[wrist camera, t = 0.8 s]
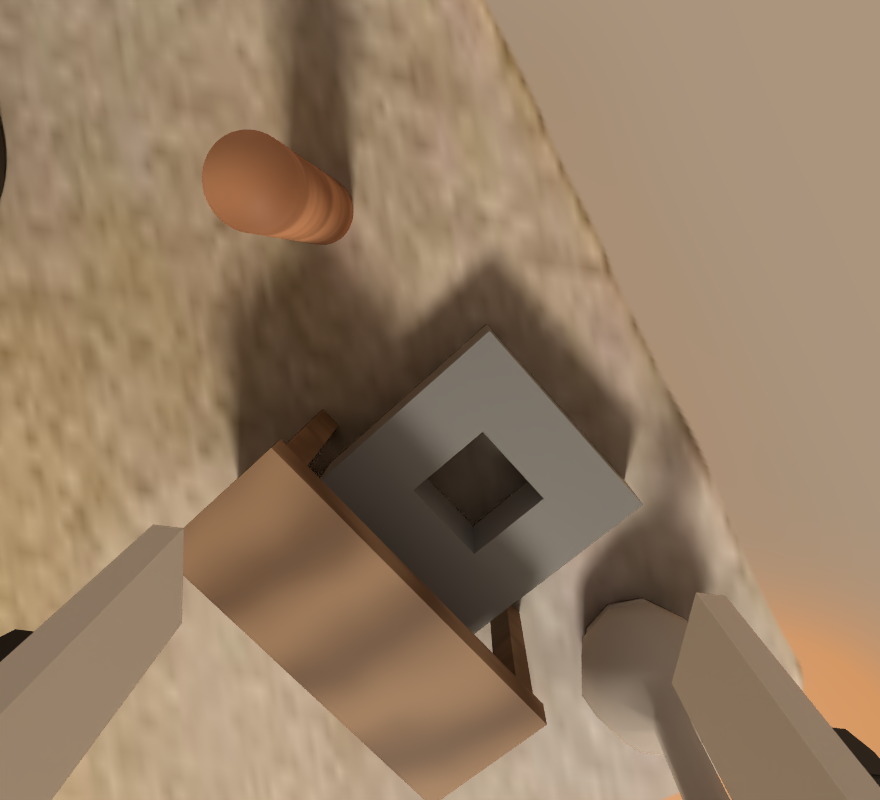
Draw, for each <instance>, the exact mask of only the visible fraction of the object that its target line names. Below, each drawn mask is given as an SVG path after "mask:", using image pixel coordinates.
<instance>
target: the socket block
mask: <svg viewBox="0 0 880 800" xmlns="http://www.w3.org/2000/svg"><path fill="white" fill-rule="evenodd" d="M482 432H483V433H484V434H485V435H486V436H487V437H488V438H489V439H490V440H491V441H492V443H493V444H494V445H495V446H496V447H497V448H498V449H499V450H500V451H501V452H502V453H503V455H504V456H505V457H506V458H507V459H508V460H509V461H510V462H511V463H512V464H513V465H514V467H515V468H516V469H517V470H518V471H519V472H520V473H521V474H522V475H523V476H524V477H525V479H526V480H527V481H528V482H527V483H525V484H524V485H523V486H522V487H520V488H519V489H518V490H517V491H515V492H514V493H513V494H512V495H510V496H509V497H508V498H507V499H506V500H504V501H503V502H502V503H501V504H499V505H498V506H497V507H496V508H494V509H493V510H492V511H491V512H489V513H488V514H487V515H486V516H485V517H483V518H482V519H481V520H480V521H478V522H477V523H476V524H475V525H472V524H471V523H470V522H469V521H468V520H467V519H466V518H465V517H464V516H463V515H462V514H461V513H460V512H459V511H458V510H457V509H456V508H455V507H454V505H453V504H452V503H451V502H450V501H449V500H448V499H447V498H446V497H445V496H444V495H443V494H442V493H441V492H440V491H439V490H438V489H437V488H436V487H435V486H434V484H433V483H432V482H431V481H430V480H429V479H428V478H429V477H430V476H431V475H432V474H433V473H434V472H436V471H437V470H438V469H439V468H440V467H442V466H443V465H444V464H445V463H446V462H447V461H449V460H450V459H451V458H452V457H453V456H455V455H456V454H457V453H458V452H459V451H460V450H462V449H463V448H464V447H465V446H466V445H468V444H469V443H470V442H471V441H472V440H473V439H475V438H476V437H477V436H478V435H479V434H481V433H482ZM320 479H321V480H322V481H323V482H324V483H325V484H326V485H327V486H328V487H329V488H330V489H331V490H332V491H333V492H334V493H335V494H336V495H337V496H338V497H339V498H340V499H341V500H342V501H343V502H344V503H345V505H346V506H347V507H348V508H349V509H350V510H351V511H352V512H353V513H354V514H355V515H356V516H357V517H358V518H359V519H360V520H361V521H362V522H363V523H364V524H365V525H366V526H367V527H368V528H369V529H370V530H371V531H372V532H373V533H374V534H375V535H376V536H377V537H378V538H379V539H380V540H381V541H382V542H383V543H384V544H385V545H386V546H387V547H388V548H389V549H390V550H391V551H392V552H393V553H394V554H395V555H396V556H397V557H398V558H399V559H400V560H401V561H402V562H403V563H404V564H405V565H406V566H407V567H408V568H409V569H410V570H411V571H412V572H413V573H414V574H415V575H416V576H417V577H418V578H419V579H420V580H421V581H422V582H423V583H424V584H425V585H426V586H427V587H428V588H429V589H430V590H431V591H432V592H433V593H434V594H435V595H436V596H437V597H438V598H439V600H440V601H441V602H442V603H443V604H444V605H445V606H446V607H447V608H448V609H449V610H450V611H451V612H452V613H453V614H454V615H455V616H456V617H457V618H458V619H459V620H460V621H461V622H462V623H463V624H464V625H465V626H466V627H467V628H468V629H469V630H470V631H471V632H472V633H473V634H475V633H476V632H477V631H478V630H480V629H481V628H482V627H484V626H485V625H486V624H488V623H489V622H490V621H492V620H493V619H494V618H495V617H497V616H498V615H499V614H501V613H502V612H503V611H505V610H506V609H507V608H509V607H510V606H511V605H512V604H514V603H515V602H516V601H518V600H519V599H520V598H522V597H523V596H524V595H526V594H527V593H528V592H529V591H531V590H532V589H533V588H535V587H536V586H537V585H539V584H540V583H541V582H543V581H544V580H545V579H546V578H548V577H549V576H550V575H552V574H553V573H554V572H556V571H557V570H558V569H560V568H561V567H562V566H563V565H565V564H566V563H567V562H569V561H570V560H571V559H573V558H574V557H575V556H577V555H578V554H579V553H580V552H582V551H583V550H584V549H586V548H587V547H588V546H590V545H591V544H592V543H594V542H595V541H596V540H597V539H599V538H600V537H601V536H603V535H604V534H605V533H607V532H608V531H609V530H610V529H612V528H613V527H614V526H616V525H617V524H618V523H620V522H621V521H622V520H624V519H625V518H626V517H627V516H629V515H630V514H631V513H633V512H634V511H635V510H637V509H638V508H639V507H641V506H642V505H643V504H642V503H641V501H640V500H639V499H638V497H637V496H636V495H635V493H634V492H633V491H632V490H631V488H630V487H629V486H628V484H627V483H626V482H625V480H624V479H623V478H622V477H621V476H620V475H619V474H618V472H617V471H616V470H615V469H614V468H613V467H612V466H611V465H610V463H609V462H608V461H607V460H606V459H605V458H604V457H603V455H602V454H601V453H600V452H599V451H598V450H597V449H596V448H595V446H594V445H593V444H592V443H591V442H590V441H589V440H588V438H587V437H586V436H585V435H584V434H583V433H582V432H581V431H580V429H579V428H578V427H577V426H576V425H575V424H574V423H573V421H572V420H571V419H570V418H569V417H568V416H567V415H566V414H565V412H564V411H563V410H562V409H561V408H560V407H559V406H558V404H557V403H556V402H555V401H554V400H553V399H552V398H551V397H550V395H549V394H548V393H547V392H546V391H545V390H544V389H543V387H542V386H541V385H540V384H539V383H538V382H537V381H536V380H535V378H534V377H533V376H532V375H531V374H530V373H529V372H528V370H527V369H526V368H525V367H524V366H523V365H522V364H521V363H520V361H519V360H518V359H517V358H516V357H515V356H514V355H513V353H512V352H511V351H510V350H509V349H508V348H507V347H506V346H505V344H504V343H503V342H502V341H501V340H500V339H499V338H498V336H497V335H496V334H495V333H494V332H493V331H492V330H491V329H490V327H489V326H488V325H487V324H486V325H485V326H484V327H483V328H482V329H481V330H479V331H478V332H477V333H476V334H475V335H474V336H473V337H472V338H470V339H469V340H468V341H467V342H466V343H465V344H464V345H463V346H461V347H460V348H459V349H458V350H457V351H456V352H455V353H454V354H452V355H451V356H450V357H449V358H448V359H447V360H446V361H445V362H443V363H442V364H441V365H440V366H439V367H438V368H437V369H436V370H434V371H433V372H432V373H431V374H430V375H429V376H428V377H427V378H425V379H424V380H423V381H422V382H421V383H420V384H419V385H418V386H416V387H415V388H414V389H413V390H412V391H411V392H410V393H409V394H407V395H406V396H405V397H404V398H403V399H402V400H401V401H400V402H398V403H397V404H396V405H395V406H394V407H393V408H392V409H391V410H389V411H388V412H387V413H386V414H385V415H384V416H383V417H382V418H380V419H379V420H378V421H377V422H376V423H375V424H374V425H373V426H371V427H370V428H369V429H368V430H367V431H366V432H365V433H364V434H362V435H361V436H360V437H359V438H358V439H357V440H356V441H355V442H353V443H352V444H351V445H350V446H349V447H348V448H347V449H346V450H344V451H343V452H342V453H341V454H340V455H339V456H338V457H337V458H335V459H334V460H333V461H332V462H331V463H330V464H329V466H328V467H327V469H326V470H325V472H324V473H323V475H322V476H321V478H320Z"/></svg>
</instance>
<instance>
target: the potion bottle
mask: <svg viewBox="0 0 880 800" xmlns="http://www.w3.org/2000/svg"><path fill="white" fill-rule="evenodd" d="M687 624H688V621H687V620H686V619H684V618H682V617H680V616H678V615H676V614H674V613H672V612H671V611H669V610H667V609H664V608H662V607H660V606H658V605H656V604H654V603H652V602H650V601H647V600H645V599H643V598H637V599H632V600H627V601H622V602H617V603H612V604H608V605H607V606H606V607H605V608H604V609H603V610H602V611H601V612H600V613H599V614H598V615H597V617H596V618H595V619H594V620H593V621H592V622H591V623H590V624H589V625H588V626H587V628H586V634H585V636H584V637H583V638H582V696H583V697H584V699H585V700H586V702H587V703H588V705H589V706H590V708H591V709H592V711H593V712H594V713H595V715H596V716H597V717H598V718H599V719H600V720H601V721H602V722H603V723H604V724H605V725H606V726H607V727H608V728H609V729H610V730H611V731H612V732H613V733H614V734H616V735H617V736H618V737H619V738H620V739H621V740H622V741H623V742H624V743H625V744H627V745H629V746H630V747H632V748H633V749H635V750H637V751H638V752H642V753H650V754H659V755H664V756H665V758H666V761H667V763H668V765H669V768H670V770H671V773H672V775H673V777H674V780H675V782H676V785H677V787H678V789H679V792H680V794H681V797H682V799H683V800H730V799H729V797H728V795H727V793H726V791H725V789H724V787H723V785H722V783H721V781H720V779H719V777H718V775H717V773H716V771H715V769H714V767H713V765H712V763H711V761H710V759H709V757H708V755H707V753H706V751H705V749H704V747H703V745H702V741H701V739H700V737H699V735H698V733H697V731H696V729H695V727H694V725H693V723H692V722H691V720H690V718H689V716H688V714H687V712H686V710H685V708H684V706H683V704H682V702H681V700H680V698H679V696H678V694H677V692H676V691H675V689H674V687H673V685H672V680H673V676H674V672H675V669H676V665H677V661H678V657H679V654H680V650H681V646H682V642H683V639H684V635H685V631H686V627H687Z"/></svg>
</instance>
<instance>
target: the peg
mask: <svg viewBox="0 0 880 800" xmlns="http://www.w3.org/2000/svg"><path fill="white" fill-rule="evenodd" d="M202 183H203V190H204V194H205V197H206V200H207V202H208V204H209V206H210V207H211V209H212V210H213V212H214V213H215V214H216V216H217V217H218V218H219V219H220V220H221V221H223V222H224V223H225V224H227V225H228V226H230V227H232V228H233V229H236V230H238V231H242V232H246V233H252V234H258V235H264V236H270V237H276V238H282V239H288V240H294V241H301V242H307V243H313V244H320V245H325V244H330V243H333V242H335V241H337V240H339V239H340V238H342V237H343V236H344V235H345V234H346V232H347V231H348V229H349V227H350V225H351V223H352V219H353V205H352V201H351V198H350V196H349V194H348V192H347V191H346V190H345V188H344V187H343V186H342V185H341V184H339V183H338V182H337V181H335V180H334V179H333V178H331V177H330V176H328V175H327V174H325V173H324V172H322V171H321V170H320V169H318V168H317V167H315V166H314V165H312V164H311V163H309V162H308V161H307V160H305V159H304V158H302V157H301V156H299V155H298V154H296V153H295V152H294V151H292V150H291V149H289V148H288V147H286V146H285V145H283V144H282V143H281V142H279V141H278V140H276V139H275V138H273V137H271V136H270V135H268V134H265V133H263V132H260V131H256V130H239V131H235V132H232V133H229V134H227V135H225V136H224V137H222V138H221V139H219V140H218V141H217V142H216V143H215V144H214V146H213V147H212V148H211V149H210V151H209V153H208V155H207V157H206V159H205V162H204V166H203V172H202Z"/></svg>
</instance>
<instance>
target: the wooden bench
mask: <svg viewBox="0 0 880 800" xmlns="http://www.w3.org/2000/svg"><path fill="white" fill-rule="evenodd" d="M337 427H338V424H337V423H336V422H335V421H334V420H333V419H332V418H331V417H330V416H329V415H328V414H327V413H326V412H325V411H324V410H322V411H321V412H319V413H318V414H317V415H316V416H315V417H314V418H313V419H312V420H311V421H310V422H309V423H307V424H306V425H305V426H304V427H303V428H302V429H301V430H300V432H299V433H298V434H297V435H296V436H295V437H294V438H293V439H292V440H291V441H290V442H289V443H288V444H287V445H286V444H285V443H284V442H283V441H282V440H281V439H280V440H279V441H278V442H277V443H276V444H275V445H273V446H272V447H271V448H270V449H269V450H268V451H267V452H266V453H265V454H264V455H263V456H262V457H260V458H259V459H258V460H257V461H256V462H255V463H254V464H253V465H252V466H251V467H250V468H248V469H247V470H246V471H245V472H244V473H243V474H242V475H241V476H240V477H239V478H238V479H237V480H235V481H234V482H233V483H232V484H231V485H230V486H229V487H228V488H227V489H226V490H225V491H223V492H222V493H221V494H220V495H219V496H218V497H217V498H216V499H215V500H214V501H213V502H211V503H210V504H209V505H208V506H207V507H206V508H205V509H204V510H203V511H202V512H201V513H200V514H198V515H197V516H196V517H195V518H194V519H193V520H192V521H191V522H190V523H189V524H188V525H186V526H185V527H184V537H183V576H185V577H186V578H187V579H188V580H189V581H190V582H191V583H192V584H193V585H194V586H195V587H196V588H197V589H199V590H200V591H201V592H202V593H203V594H204V595H205V596H206V597H207V598H208V599H209V600H210V601H211V602H212V603H214V604H215V605H216V606H217V607H218V608H219V609H220V610H221V611H222V612H223V613H224V614H225V615H226V616H228V617H229V618H230V619H231V620H232V621H233V622H234V623H235V624H236V625H237V626H238V627H239V628H240V629H242V630H243V631H244V632H245V633H246V634H247V635H248V636H249V637H250V638H251V639H252V640H253V641H254V642H255V643H257V644H258V645H259V646H260V647H261V648H262V649H263V650H264V651H265V652H266V653H267V654H268V655H269V656H271V657H272V658H273V659H274V660H275V661H276V662H277V663H278V664H279V665H280V666H281V667H282V668H283V669H284V670H286V671H287V672H288V673H289V674H290V675H291V676H292V677H293V678H294V679H295V680H296V681H297V682H298V683H300V684H301V685H302V686H303V687H304V688H305V689H306V690H307V691H308V692H309V693H310V694H311V695H312V696H313V697H315V698H316V699H317V700H318V701H319V702H320V703H321V704H322V705H323V706H324V707H325V708H326V709H327V710H329V711H330V712H331V713H332V714H333V715H334V716H335V717H336V718H337V719H338V720H339V721H340V722H341V723H342V724H344V725H345V726H346V727H347V728H348V729H349V730H350V731H351V732H352V733H353V734H354V735H355V736H356V737H358V738H359V739H360V740H361V741H362V742H363V743H364V744H365V745H366V746H367V747H368V748H369V749H370V750H371V751H373V752H374V753H375V754H376V755H377V756H378V757H379V758H380V759H381V760H382V761H383V762H384V763H385V764H387V765H388V766H389V767H390V768H391V769H392V770H393V771H394V772H395V773H396V774H397V775H398V776H399V777H400V778H402V779H403V780H404V781H405V782H406V783H407V784H408V785H409V786H410V787H411V788H412V789H413V790H414V791H416V792H417V793H418V794H419V795H420V796H421V797H422V798H423V799H424V800H441V799H442V798H444V797H445V796H446V795H448V794H449V793H451V792H452V791H453V790H455V789H456V788H458V787H459V786H461V785H462V784H463V783H465V782H466V781H468V780H469V779H470V778H472V777H473V776H475V775H476V774H478V773H479V772H480V771H482V770H483V769H485V768H486V767H487V766H489V765H490V764H492V763H493V762H495V761H496V760H497V759H499V758H500V757H502V756H503V755H504V754H506V753H507V752H509V751H510V750H512V749H513V748H514V747H516V746H517V745H519V744H520V743H521V742H523V741H524V740H526V739H527V738H529V737H530V736H531V735H533V734H534V733H536V732H537V731H538V730H540V729H541V728H543V727H544V726H546V725H547V723H546V718H545V712H544V707H543V704H542V703H541V702H540V701H539V700H538V699H537V698H536V697H535V696H534V695H533V692H532V686H531V680H530V674H529V668H528V662H527V656H526V650H525V644H524V638H523V632H522V626H521V620H520V614H519V612H518V611H517V610H516V609H515V608H514V607H513V606H512V605H511V606H510V607H509V608H507V609H506V610H505V611H503V612H502V613H501V614H499V615H498V616H497V617H495V618H494V619H493V620H492V621H490V623H491V636H492V648H493V653H492V652H491V651H490V650H489V649H488V648H487V647H486V646H485V645H484V644H483V643H482V642H481V641H480V640H479V639H478V638H477V637H476V636H475V635H474V634H473V633H472V632H471V631H470V630H469V629H468V628H467V627H466V626H465V625H464V624H463V623H462V622H461V621H460V620H459V619H458V618H457V617H456V616H455V615H454V614H453V613H452V612H451V611H450V610H449V609H448V608H447V607H446V606H445V605H444V604H443V603H442V602H441V601H440V600H439V598H438V597H437V596H436V595H435V594H434V593H433V592H432V591H431V590H430V589H429V588H428V587H427V586H426V585H425V584H424V583H423V582H422V581H421V580H420V579H419V578H418V577H417V576H416V575H415V574H414V573H413V572H412V571H411V570H410V569H409V568H408V567H407V566H406V565H405V564H404V563H403V562H402V561H401V560H400V559H399V558H398V557H397V556H396V555H395V554H394V553H393V552H392V551H391V550H390V549H389V548H388V547H387V546H386V545H385V544H384V543H383V542H382V541H381V540H380V539H379V538H378V537H377V536H376V535H375V534H374V533H373V532H372V531H371V530H370V529H369V528H368V527H367V526H366V525H365V524H364V523H363V522H362V521H361V520H360V519H359V518H358V517H357V516H356V515H355V514H354V513H353V512H352V511H351V510H350V509H349V508H348V507H347V506H346V505H345V503H344V502H343V501H342V500H341V499H340V498H339V497H338V496H337V495H336V494H335V493H334V492H333V491H332V490H331V489H330V488H329V487H328V486H327V485H326V484H325V483H324V482H323V481H322V480H321V479H320V478H319V477H318V476H317V475H316V474H315V473H314V472H313V471H312V470H311V469H310V468H309V467H308V464H309V463H310V462H311V461H312V459H313V458H314V457H315V455H316V454H317V453H318V452H319V450H320V449H321V448H322V446H323V445H324V444H325V443H326V441H327V440H328V439H329V437H330V436H331V435H332V434H333V432H334V431H335V430H336V428H337Z"/></svg>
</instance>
